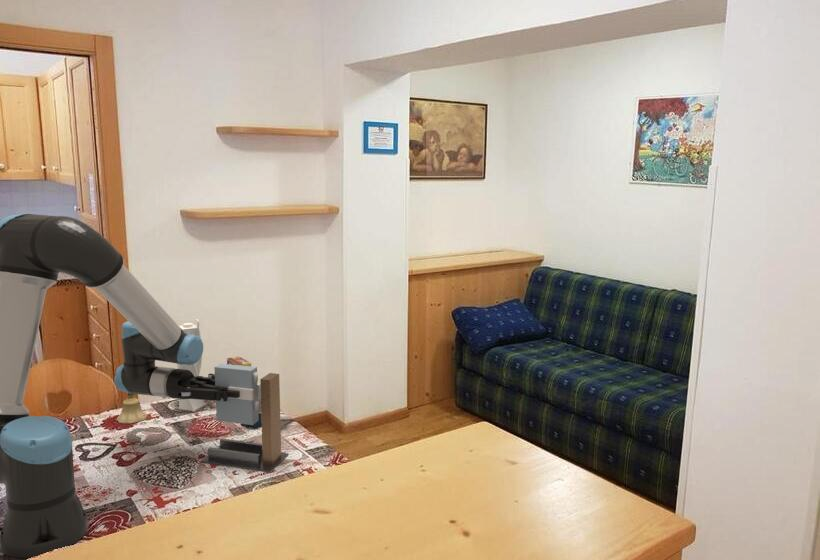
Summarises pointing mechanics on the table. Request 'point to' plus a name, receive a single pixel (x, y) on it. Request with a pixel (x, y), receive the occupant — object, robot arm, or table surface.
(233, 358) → the candy box
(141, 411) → the hand bell
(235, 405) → the door panel
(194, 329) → the skyscraper
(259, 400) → the watch
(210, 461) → the base
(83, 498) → the table surface
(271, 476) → the table surface
